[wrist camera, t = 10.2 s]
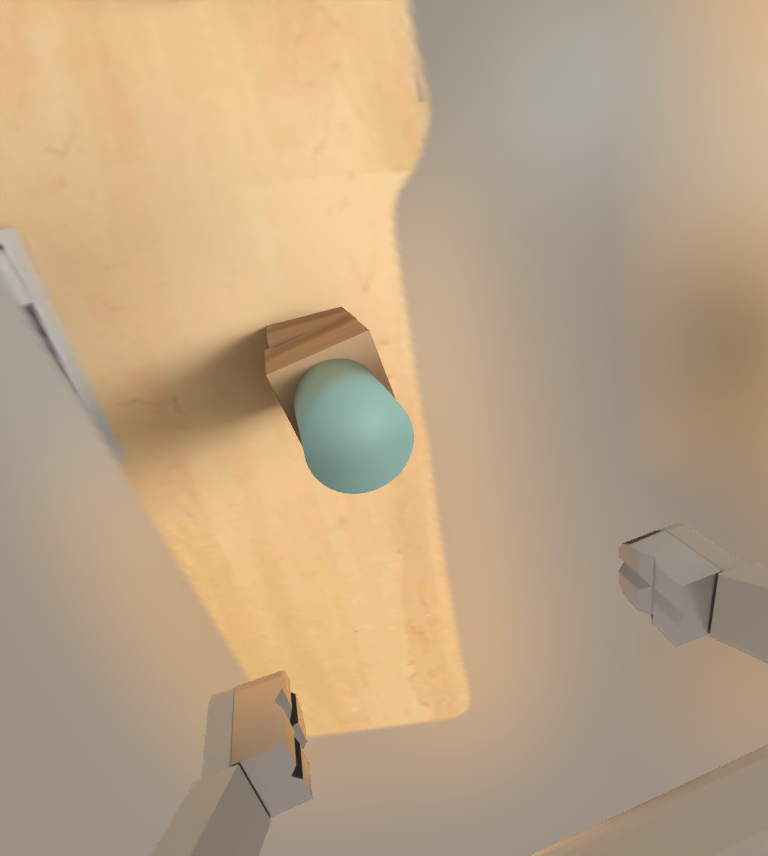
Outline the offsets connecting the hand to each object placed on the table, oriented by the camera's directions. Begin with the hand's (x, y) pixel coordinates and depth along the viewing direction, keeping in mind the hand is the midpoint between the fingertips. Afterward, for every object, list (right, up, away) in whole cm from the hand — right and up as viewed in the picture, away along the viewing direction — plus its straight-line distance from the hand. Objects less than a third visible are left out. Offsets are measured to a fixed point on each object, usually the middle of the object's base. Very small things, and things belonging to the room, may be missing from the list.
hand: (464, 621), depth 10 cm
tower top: (-6, +8, +21) cm, 23 cm away
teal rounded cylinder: (-4, +6, +15) cm, 17 cm away
